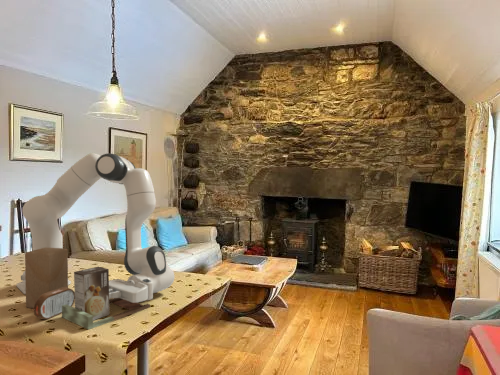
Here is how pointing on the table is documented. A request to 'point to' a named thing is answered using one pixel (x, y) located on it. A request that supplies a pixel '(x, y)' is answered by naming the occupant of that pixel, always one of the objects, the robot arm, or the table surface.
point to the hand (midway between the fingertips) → (104, 296)
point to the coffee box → (92, 291)
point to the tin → (53, 302)
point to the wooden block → (45, 272)
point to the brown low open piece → (87, 319)
